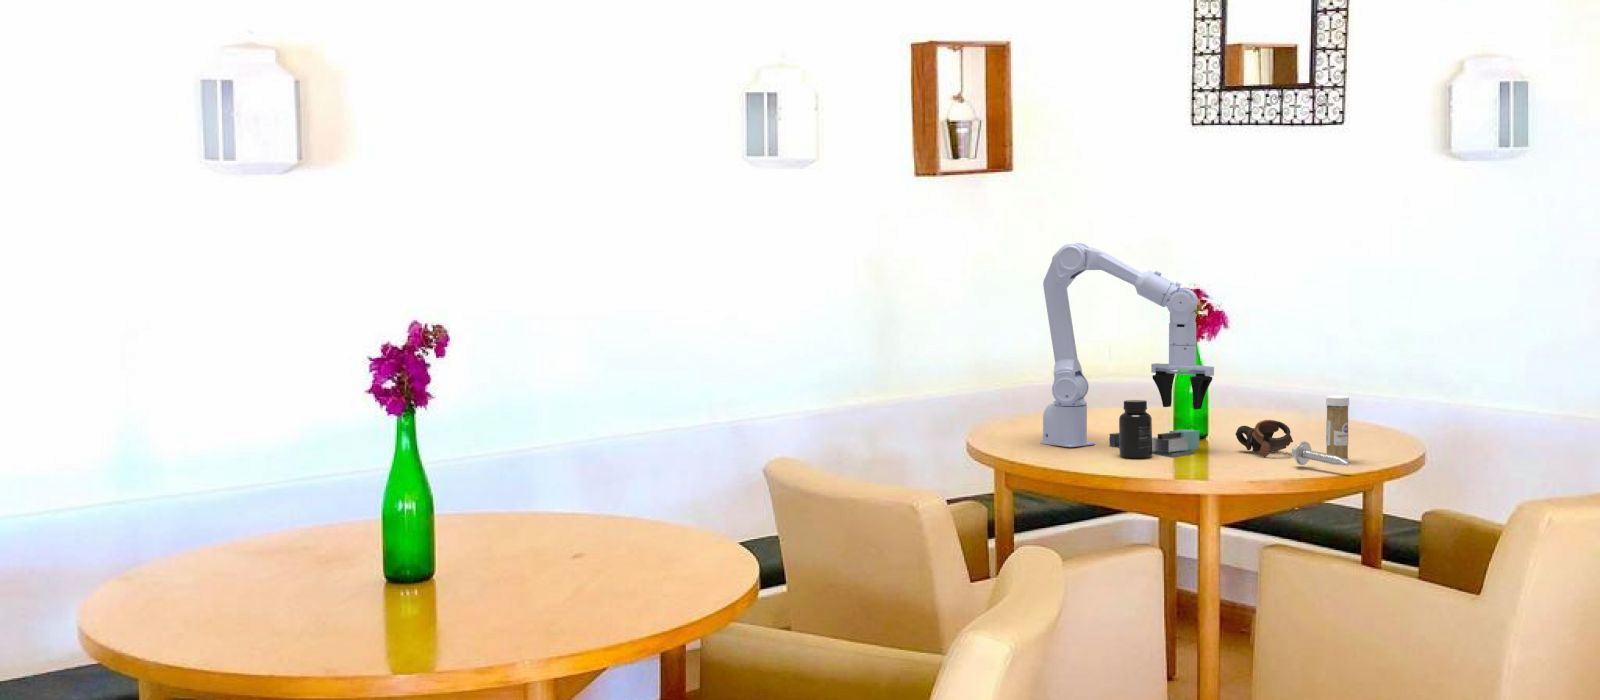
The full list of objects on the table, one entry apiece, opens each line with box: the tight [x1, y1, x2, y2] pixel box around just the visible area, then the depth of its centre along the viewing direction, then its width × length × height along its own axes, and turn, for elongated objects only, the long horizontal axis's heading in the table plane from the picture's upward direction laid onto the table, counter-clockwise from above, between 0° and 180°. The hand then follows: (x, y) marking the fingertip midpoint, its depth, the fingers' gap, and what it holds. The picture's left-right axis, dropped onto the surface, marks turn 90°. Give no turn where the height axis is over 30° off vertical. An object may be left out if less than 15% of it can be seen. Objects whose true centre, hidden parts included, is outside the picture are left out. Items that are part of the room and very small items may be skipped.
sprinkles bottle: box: [1325, 394, 1350, 460], centre depth 381 cm, size 5×5×13 cm
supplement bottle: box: [1118, 399, 1153, 460], centre depth 390 cm, size 7×7×12 cm
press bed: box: [1109, 432, 1196, 459], centre depth 398 cm, size 18×7×4 cm, turn 37°
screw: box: [1291, 441, 1350, 466], centre depth 372 cm, size 13×5×5 cm, turn 37°
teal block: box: [1168, 428, 1200, 451], centre depth 399 cm, size 4×5×4 cm
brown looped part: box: [1235, 419, 1294, 458], centre depth 392 cm, size 12×9×8 cm
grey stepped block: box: [1152, 432, 1189, 452], centre depth 394 cm, size 5×6×4 cm
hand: (1182, 408), depth 396 cm, fingers open, 7 cm apart
